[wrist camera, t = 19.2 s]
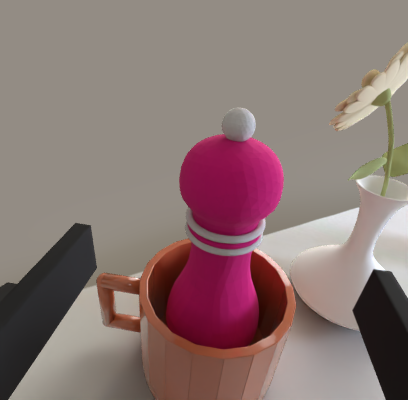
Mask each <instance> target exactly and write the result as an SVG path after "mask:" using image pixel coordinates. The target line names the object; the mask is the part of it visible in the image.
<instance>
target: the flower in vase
mask: <svg viewBox="0 0 408 400" xmlns="http://www.w3.org/2000/svg"><path fill="white" fill-rule="evenodd" d="M407 79H408V43H406V44H405V45H404V46H403V47H402V48H401V49H400V50H399V51H398V53H397V54H395V55H394V56H393V57H392V59H391V60H390V62H389V63H388V65H387V67H386V69H385V71H384V72H381V73H379V71H378V70H376V69H374V70H371V71H370V72H368V73H367V74H366V75H365V76H364V78H363V79H362V89H360V90H357V91H355V92H353V93H352V94H351V95H350V96H349V97H348V98H347V99H346V100H344V101H342V102H340V103H339V104H338V105H337V106H336V108H335V111H343V113H341V114H339V115H338V116H336V117H335V118H333V119H332V120H331V121H330V123H329V125H334V124H335V125H334V128H336V129H335V130H336V131H339V130H344V129H346V128H348V127H350V126H351V125H353V124H355V123H357V122H358V121H360V120H361V119H363V118H365V117H367V116H368V115H369V114H370V113H372V112H373V111H374V110H375V109H376V108H377V107H379V106H384V105H385V109H386V114H387V123H388V135H389V146H388V152H386V153H384V154H383V156H382V158H378V159H375V160H373V161H370V162H368V163H366V164H365V165H363V166H362V167H360V168H359V169H358V170H357V171H356V172H355V173H354V174H353V175H352V176H351V177H350V178H349V179H356V183H357V186H358V189H359V192H360V209H359V214H358V217H357V221H356V224H355V226H354V229H353V231H352V233H351V235H350V237H349V239H348V240H347V241H346V242H345V243H344V244H341V245H324V246H318V247H314V248H310V249H307V250H305V251H303V252H301V253H300V254H299V255H298V256H297V257H296V258H295V259H294V260H293V262H292V264H291V267H290V277H291V280H292V283H293V285H294V287H295V289H296V291H297V293H298V294H299V296H300V297H301V299H302V300H303V301H304V302H305V303H306V304H307V305H308V306H309V307H310V308H311V309H312V310H314V311H315V312H316V313H317V314H319V315H320V316H322V317H323V318H325V319H327V320H329V321H331V322H333V323H335V324H337V325H340V326H343V327H345V328H349V329H353V330H359V327H358V325H357V322H356V319H355V317H354V314H353V311H352V310H353V308H354V306H355V304H356V302H357V300H358V298H359V296H360V294H361V292H362V290H363V288H364V286H365V285H366V283H367V281H368V279H369V277H370V275H371V273H372V271H373V269H377V270H384V269H383V268H382V266H381V265H380V264H379V263H378V262H377V261H376V260H375V258H374V256H373V250H374V246H375V244H376V241H377V239H378V237H379V235H380V233H381V231H382V230H383V228H384V227H385V225H386V224H387V222H388V221H389V220H390V219H391V217H392V216H393V215H394V214H395V213H396V212H397V211H399V210H400V209H401V208H402V207H404V206H406V205H408V185H406V184H404V183H402V182H400V181H397V180H394V179H390V178H389V177H390V176H391V177H395V176H400V175H404V174H408V143H407V144H405V145H402V146H400V147H397V148H395V149H393V146H394V129H393V118H392V109H391V103H390V99H391V96H392V95H393V94H394V93H395V92H396V90H397V89H398V88H399V87H400V86H401V85H402V84H403V83H404V82H405V81H406V80H407ZM381 166H383V168H384V171H385V177H383V176H377V175H371V174H372V173H374V172H375V171H376V170H378V169H379V168H380V167H381ZM349 179H348V180H349ZM384 271H385V270H384ZM359 331H360V330H359Z"/></svg>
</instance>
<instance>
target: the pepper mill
mask: <svg viewBox="0 0 408 400" xmlns="http://www.w3.org/2000/svg"><path fill="white" fill-rule="evenodd" d="M222 130H223V133H224V134H222V135H215V136H212V137H208V138H206V139H204V140H202V141H200V142H198V143H197V144H196V145H195V146H194V147H193V148H192V149H191V150H190V151H189V152H188V154H187V155H186V157H185V159H184V162H183V164H182V166H181V172H180V179H179V182H180V191H181V195H182V198H183V200H184V201H185V202H186V204H187V205H188V207H189V208H188V209H187V212H186V220H187V222H186V225H185V230H186V234H187V236H188V238H189V239H190V241H191V250H190V255H189V259H188V262H187V264H186V266H185V267H184V269H183V271H182V272H181V274H180V275H179V276H178V278H177V279H176V281H175V283H174V285H173V287H172V289H171V292H170V295H169V297H168V302H167V310H166V320H167V325H168V328H169V330H170V331H171V332H172V333H174V334H176V335H178V336H180V337H182V338H184V339H186V340H188V341H190V342H192V343H194V344H196V345H201V346H206V347H212V348H218V349H223V350H224V349H232V348H240V347H247V346H248V345H249V344H250V343H251V342H252V340H253V338H254V336H255V334H256V330H257V326H258V320H259V305H258V298H257V294H256V291H255V288H254V285H253V282H252V279H251V273H250V260H251V253H252V251H253V250H255V249H256V248H257V247H258V246H259V245H260V243H261V241H262V239H263V231H264V229H265V218H266V217H267V216H268V215H269V214H270V213H272V212H273V211H274V210H275V208H276V207H277V205H278V203H279V201H280V198H281V194H282V190H283V181H284V177H283V170H282V167H281V164H280V161H279V159H278V157H277V156H276V155H275V153H274V152H273V151H272V150H271V149H270V148H269V147H268V146H266V145H265V144H263V143H262V142H260V141H258V140H256V139H253V138H251V136H252V134H253V133H254V130H255V119H254V116H253V115H252V114H251V112H249V111H248V110H246V109H244V108H235V109H232V110H230V111H229V112H228V113H227V114H226V115H225V116H224V118H223V121H222Z"/></svg>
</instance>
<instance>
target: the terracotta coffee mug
mask: <svg viewBox="0 0 408 400" xmlns="http://www.w3.org/2000/svg"><path fill="white" fill-rule="evenodd" d="M190 250H191V241H190V239H189V238H188V239H185V240H181V241H177V242H175V243H173V244H171V245H169V246H168V247H166V248H164V249H162V250H161V251H159V252H158V253H157V254H156V255H155V256H154V257H153V258H152V259H151V260H150V261H149V262H148V264H147V265H146V267H145V270H144V272H143V274H142V276H141V278H134V277H128V276H122V275H116V274H110V273H102V274H100V275H99V276H98V277H97V280H96V283H97V289H98V296H99V302H100V309H101V315H102V322H103V324H104V325H105V326H106V327H111V328H117V329H122V330H128V331H134V332H139V333H141V346H142V363H143V369H144V375H145V378H146V382H147V384H148V386H149V388H150V391H151V392H152V394H153V396H154V397H155V399H156V400H262V399H263V398H264V396H265V394H266V392H267V389H268V388H269V386H270V383H271V381H272V378H273V375H274V372H275V370H276V367H277V364H278V361H279V359H280V356H281V353H282V350H283V348H284V345H285V342H286V339H287V337H288V334H289V331H290V329H291V326H292V322H293V318H294V314H295V310H296V301H295V296H294V290H293V287H292V284H291V282H290V281H289V279H288V277H287V276H286V274H285V272H284V270H283V269H282V268H281V267H280V266H279V265H278V264H277V263H276V262H275V261H274V260H273V259H272V258H271V257H270V256H268V255H267V254H265V253H263V252H262V251H260V250H258V249H257V248H256V249H255V250H253V251H252V253H251V260H250V273H251V279H252V282H253V285H254V288H255V291H256V294H257V298H258V305H259V320H258V326H257V330H256V334H255V336H254V338H253V340H252V342H251V343H250V344H249V345H248V346H247V347H240V348H232V349H224V350H223V349H218V348H212V347H206V346H201V345H196V344H194V343H192V342H190V341H188V340H186V339H184V338H182V337H180V336H178V335H176V334H174V333H172V332H171V331H170V330H169V328H168V325H167V320H166V310H167V302H168V297H169V295H170V292H171V289H172V287H173V285H174V283H175V281H176V279H177V278H178V276H179V275H180V274H181V272H182V271H183V269H184V267H185V266H186V264H187V262H188V259H189V255H190ZM114 291H120V292H126V293H132V294H138V295H139V307H140V317H137V316H131V315H125V314H120V313H116V306H115V297H114Z"/></svg>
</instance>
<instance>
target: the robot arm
mask: <svg viewBox="0 0 408 400" xmlns="http://www.w3.org/2000/svg"><path fill="white" fill-rule="evenodd" d="M96 268H97V266H96V259H95V252H94V245H93V238H92V232H91V226H90V225H85V224H78V223H75V224H74V225H73V226H72V227H71V228H70V229H69V231H67V232H66V234H65V235H64V236H63V237H62V238H61V239H60V240H59V241H58V242H57V243H56V244H55V245H54V246H53V247H52V248H51V249H50V250H49V251H48V253H46V255H45V256H44V257H43V258H42V259H41V260H40V261H39V262H38V263H37V264H36V265H35V266H34V267H33V268H32V269H31V270H30V271H29V272H28V273H27V275H25V277H23V278H22V280H21V281H20V282H19V283H18V284H14V283H6V284H5V285H3V286H1V287H0V400H8V399H9V398H10V396H11V395H12V393H13V392H14V390H15V389H16V387H17V386H18V384H19V383H20V381H21V380H22V378H23V377H24V375H25V374H26V372H27V371H28V369H29V368H30V366H31V365H32V363H33V362H34V361H35V359H36V358H37V356H38V355H39V353H40V352H41V350H42V349H43V347H44V346H45V344H46V343H47V341H48V340H49V338H50V337H51V335H52V334H53V332H54V331H55V329H56V328H57V326H58V325H59V323H60V322H61V320H62V319H63V317H64V316H65V314H66V313H67V312H68V310H69V309H70V307H71V306H72V304H73V303H74V301H75V300H76V298H77V297H78V295H79V294H80V292H81V291H82V289H83V288H84V286H85V285H86V283H87V282H88V280H89V279H90V277H91V276H92V274H93V273H94V271H95V270H96ZM352 311H353V314H354V317H355V319H356V322H357V325H358V327H359V330H360V333H361V335H362V338H363V340H364V343H365V346H366V348H367V351H368V354H369V356H370V359H371V362H372V364H373V367H374V370H375V372H376V375H377V378H378V380H379V383H380V386H381V388H382V391H383V393H384V396H385V399H386V400H408V298H407V296H406V295H405V293H404V291H403V290H402V288H401V286H400V285H399V283H398V282H397V280H396V278H395V277H394V275H393V273H392V272H390V271H384V270H377V269H373V271H372V273H371V275H370V277H369V279H368V281H367V283H366V285H365V286H364V288H363V290H362V292H361V294H360V296H359V298H358V300H357V302H356V304H355V306H354V308H353V310H352Z"/></svg>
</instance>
